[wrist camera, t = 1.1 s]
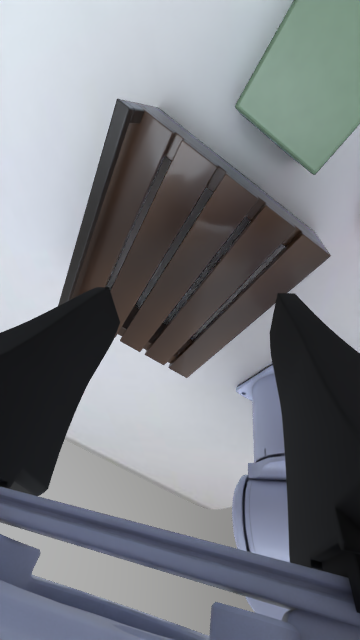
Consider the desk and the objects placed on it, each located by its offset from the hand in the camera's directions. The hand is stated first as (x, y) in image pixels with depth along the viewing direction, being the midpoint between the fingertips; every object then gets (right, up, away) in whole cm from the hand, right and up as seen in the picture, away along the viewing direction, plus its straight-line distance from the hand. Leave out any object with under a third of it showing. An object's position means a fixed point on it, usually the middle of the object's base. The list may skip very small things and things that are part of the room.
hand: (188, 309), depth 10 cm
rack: (0, +4, +10) cm, 11 cm away
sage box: (+6, +12, +2) cm, 14 cm away
